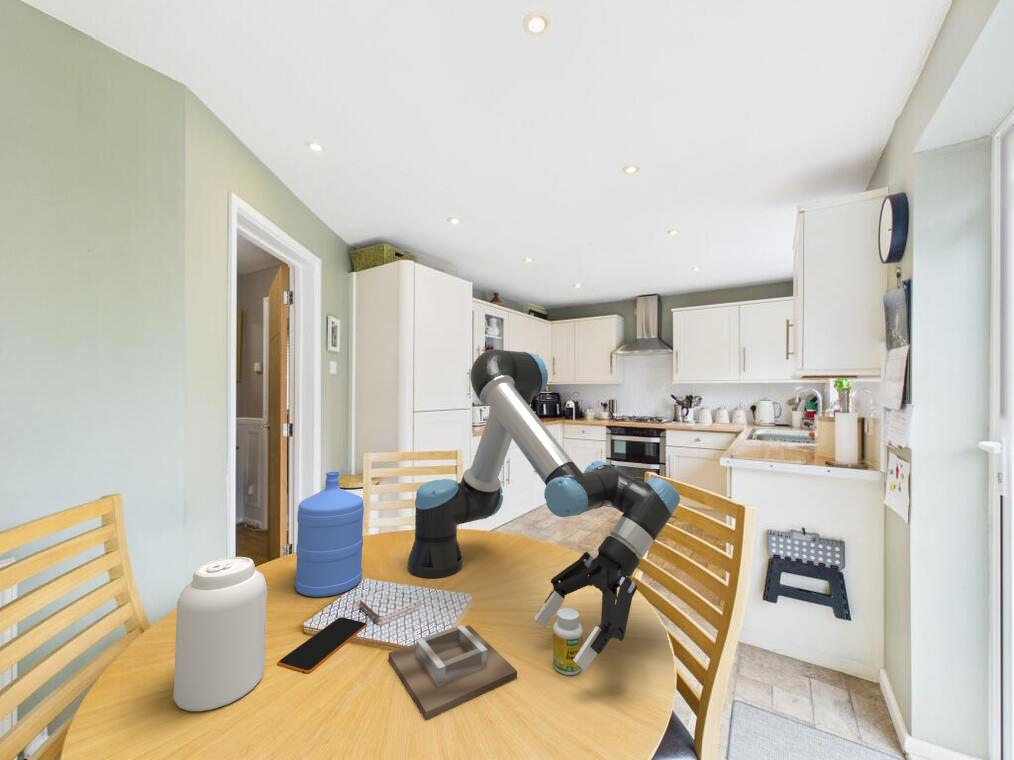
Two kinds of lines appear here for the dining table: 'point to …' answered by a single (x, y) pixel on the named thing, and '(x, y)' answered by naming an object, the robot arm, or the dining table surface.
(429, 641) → the square framed base tray
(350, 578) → the water jug
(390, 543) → the dining table surface
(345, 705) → the dining table surface
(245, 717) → the dining table surface
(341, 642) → the smartphone
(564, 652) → the supplement bottle
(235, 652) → the can
